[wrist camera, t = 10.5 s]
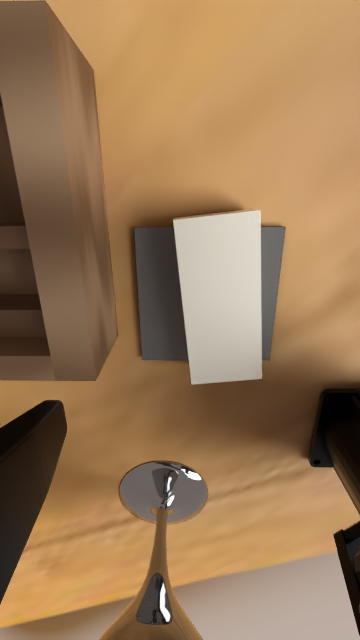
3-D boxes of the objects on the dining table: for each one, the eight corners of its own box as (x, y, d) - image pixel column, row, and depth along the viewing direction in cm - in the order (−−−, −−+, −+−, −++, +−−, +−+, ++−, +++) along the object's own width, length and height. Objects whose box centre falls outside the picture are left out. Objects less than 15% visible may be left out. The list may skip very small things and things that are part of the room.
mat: (267, 357, 19) (269, 360, 19) (143, 356, 19) (142, 360, 19) (283, 226, 16) (285, 227, 16) (135, 227, 16) (134, 227, 16)
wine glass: (211, 528, 25) (243, 935, 11) (117, 526, 25) (34, 927, 11) (215, 457, 22) (268, 892, 8) (110, 456, 22) (-16, 882, 8)
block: (254, 361, 19) (262, 378, 17) (190, 366, 19) (191, 384, 17) (251, 209, 15) (260, 209, 13) (174, 217, 15) (172, 220, 14)
